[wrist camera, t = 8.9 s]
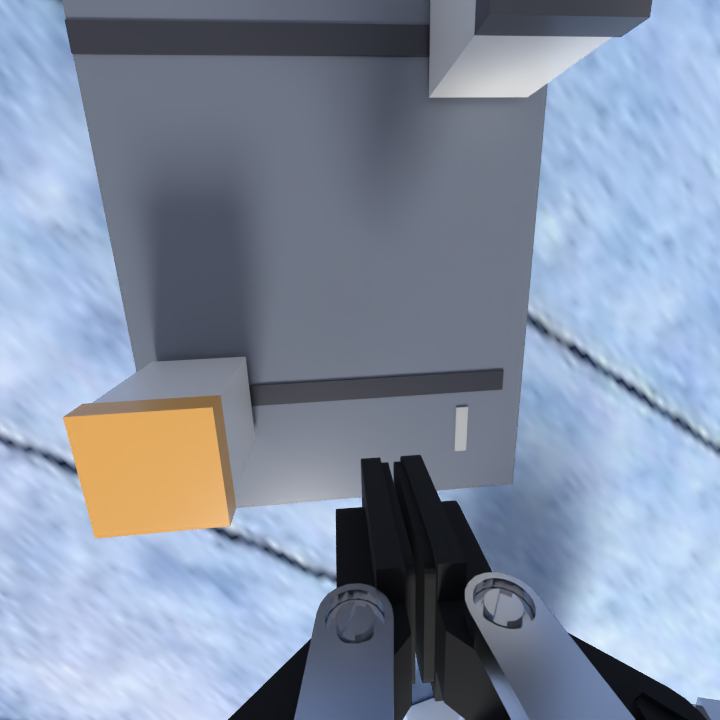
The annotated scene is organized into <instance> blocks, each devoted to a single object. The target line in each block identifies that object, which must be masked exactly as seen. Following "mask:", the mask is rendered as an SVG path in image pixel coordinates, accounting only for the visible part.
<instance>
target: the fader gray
mask: <svg viewBox="0 0 720 720" xmlns="http://www.w3.org/2000/svg"><path fill="white" fill-rule="evenodd" d="M651 5H652V0H430V61H429V98H457V97H529V96H530V95H532V94H533V93H534V92H536V91H537V90H539V89H540V88H541V87H543V86H544V85H546V84H547V83H548V82H550V81H551V80H553V79H554V78H555V77H557V76H558V75H560V74H561V73H562V72H564V71H565V70H567V69H568V68H569V67H571V66H572V65H574V64H575V63H577V62H578V61H579V60H581V59H582V58H584V57H585V56H586V55H588V54H589V53H591V52H592V51H593V50H595V49H596V48H598V47H599V46H600V45H602V44H603V43H605V42H606V41H607V40H609V39H610V38H612V37H622V36H623V35H625V34H626V33H628V32H629V31H631V30H632V29H634V28H635V27H636V26H638V25H639V24H641V23H642V22H644V21H645V20H647V19H648V18H649V17H650V12H651Z"/></svg>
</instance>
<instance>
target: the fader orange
mask: <svg viewBox="0 0 720 720" xmlns="http://www.w3.org/2000/svg"><path fill="white" fill-rule="evenodd" d="M63 419H64V423H65V426H66V430H67V434H68V438H69V442H70V445H71V449H72V453H73V457H74V460H75V464H76V468H77V472H78V476H79V479H80V483H81V487H82V491H83V495H84V498H85V502H86V506H87V510H88V513H89V517H90V521H91V525H92V529H93V532H94V536H95V538H105V537H116V536H127V535H138V534H149V533H160V532H171V531H182V530H193V529H204V528H215V527H226V526H230V525H231V522H232V519H233V515H234V512H235V509H236V502H235V497H236V494H237V491H238V488H239V485H240V482H241V479H242V476H243V473H244V470H245V467H246V464H247V461H248V458H249V455H250V452H251V449H252V446H253V443H254V440H255V432H254V424H253V415H252V407H251V398H250V390H249V381H248V372H247V364H246V357H229V358H211V359H193V360H175V361H157V362H151V363H149V364H148V365H146V366H145V367H143V368H142V369H141V370H139V371H138V372H136V373H135V374H133V375H132V376H131V377H129V378H128V379H126V380H125V381H123V382H122V383H120V384H119V385H118V386H116V387H115V388H113V389H112V390H110V391H109V392H107V393H106V394H105V395H103V396H102V397H100V398H99V399H97V400H96V401H94V402H93V403H89V404H82V405H81V406H79V407H78V408H76V409H75V410H73V411H72V412H70V413H69V414H67V415H66V416H64V417H63Z"/></svg>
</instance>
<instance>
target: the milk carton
mask: <svg viewBox="0 0 720 720" xmlns="http://www.w3.org/2000/svg"><path fill="white" fill-rule="evenodd" d="M406 715H407V720H460V715H459V714H458V713H456V712H455V711H454V710H453V709H451V708H450V707H449V706H448V705H446V704H445V703H444V701H436V702H435V698H431V699H429V700H426V701H423V702H421V703H418V704H416V705H413V706H411V707H410V709H409V710H408V712H407V714H406Z"/></svg>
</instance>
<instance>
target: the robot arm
mask: <svg viewBox="0 0 720 720" xmlns="http://www.w3.org/2000/svg"><path fill="white" fill-rule="evenodd" d="M393 475H394V482H393V478H392V475H391V471H390V467H389V463H388V462H382V463H381V459H380V457H378V458H363V459H361V484H362V507H359V508H345V509H336V567H337V588H336V589H335V590H333V591H332V592H330V593H329V594H327V596H326V597H325V598H324V599H323V601H322V602H321V603H320V606H319V609H318V611H317V614H316V619H315V624H314V628H313V633H312V638H311V639H310V640H309V641H308V642H307V643H306V644H305V645H304V646H303V647H302V648H301V649H300V650H299V651H298V652H297V653H296V654H295V655H294V656H293V657H292V658H291V659H290V660H289V661H288V662H286V663H285V664H284V665H283V666H282V667H281V668H280V669H279V670H278V671H277V672H276V673H275V674H274V675H273V676H272V677H271V678H270V679H269V680H268V681H267V682H266V683H265V684H264V685H263V686H262V687H261V688H260V689H259V690H258V691H257V692H256V693H255V694H254V695H253V696H252V697H251V698H250V699H249V700H248V701H247V702H246V703H245V704H244V705H242V706H241V707H240V708H239V709H238V710H237V711H236V712H235V713H234V714H233V715H232V716H231V717H230V718H229V719H228V720H403V718H404V717H405V715H406V714H407V712H408V710H409V709H410V707H411V706H412V684H415V652H416V657H417V661H418V666H419V671H420V676H421V680H422V682H423V683H428V682H431V685H432V690H433V694H434V698H435V702H436V701H444V703H445V704H446V705H448V706H449V707H450V708H451V709H453V710H454V711H455V712H456V713H458V714H459V715H460V720H720V701H719V700H713V699H706V698H699V697H698V699H697V702H696V705H695V704H691V703H690V702H689V701H687V700H686V699H685V698H684V697H682V696H681V695H679V694H678V693H676V692H675V691H673V690H671V689H670V688H668V687H667V686H665V685H663V684H661V683H659V682H657V681H656V680H654V679H652V678H650V677H648V676H646V675H645V674H643V673H641V672H639V671H637V670H635V669H634V668H632V667H630V666H628V665H626V664H624V663H623V662H621V661H619V660H617V659H615V658H613V657H612V656H610V655H608V654H606V653H604V652H602V651H601V650H599V649H597V648H595V647H593V646H591V645H590V644H588V643H586V642H584V641H582V640H580V639H579V638H577V637H575V636H573V635H571V634H569V633H568V632H567V631H566V630H565V629H564V628H563V626H562V625H561V624H560V622H559V621H558V620H557V619H556V617H555V616H554V615H553V614H552V612H551V611H550V610H549V608H548V607H547V606H546V605H545V603H544V602H543V601H542V599H541V598H540V597H539V596H538V594H537V593H536V592H535V591H534V590H533V589H532V588H531V587H530V586H529V585H527V584H526V583H524V582H523V581H521V580H520V579H518V578H516V577H513V576H511V575H508V574H504V573H498V572H492V571H491V569H490V567H489V565H488V563H487V561H486V559H485V557H484V555H483V553H482V551H481V549H480V546H479V544H478V542H477V540H476V538H475V536H474V534H473V532H472V530H471V528H470V526H469V524H468V522H467V520H466V518H465V516H464V514H463V512H462V510H461V508H460V506H459V504H458V503H457V502H456V501H442V502H441V500H440V498H439V496H438V494H437V491H436V489H435V487H434V484H433V482H432V480H431V477H430V475H429V473H428V470H427V468H426V466H425V463H424V461H423V459H422V456H421V455H409V456H401V457H400V461H397V462H394V464H393Z"/></svg>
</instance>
